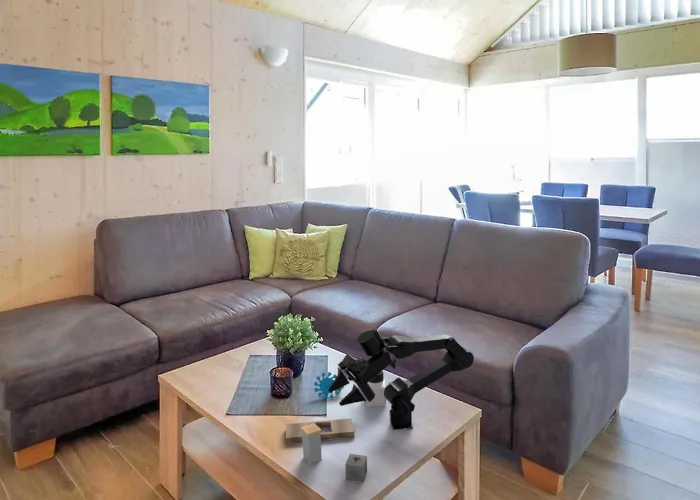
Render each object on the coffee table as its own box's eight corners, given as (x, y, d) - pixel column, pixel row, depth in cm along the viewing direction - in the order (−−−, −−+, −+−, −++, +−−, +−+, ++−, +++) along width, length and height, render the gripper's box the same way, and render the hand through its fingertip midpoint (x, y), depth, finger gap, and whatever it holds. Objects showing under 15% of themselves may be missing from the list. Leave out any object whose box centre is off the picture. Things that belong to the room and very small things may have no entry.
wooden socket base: (351, 423, 175) (351, 418, 174) (354, 437, 167) (354, 431, 166) (286, 429, 172) (286, 424, 172) (286, 443, 165) (285, 438, 164)
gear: (311, 395, 191) (316, 369, 196) (312, 400, 196) (317, 374, 201) (341, 400, 190) (345, 374, 195) (341, 405, 195) (346, 379, 200)
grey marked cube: (367, 471, 150) (366, 455, 149) (363, 482, 145) (362, 466, 144) (350, 469, 151) (349, 453, 150) (345, 480, 147) (345, 464, 145)
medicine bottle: (386, 406, 185) (385, 375, 182) (365, 407, 185) (364, 375, 182) (385, 396, 192) (384, 366, 189) (365, 397, 192) (364, 366, 189)
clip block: (315, 452, 160) (313, 422, 157) (322, 459, 156) (321, 429, 154) (302, 457, 157) (300, 427, 155) (309, 464, 154) (307, 434, 152)
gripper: (349, 336, 170) (310, 367, 167) (374, 359, 154) (332, 393, 150) (365, 361, 175) (328, 391, 171) (391, 385, 158) (350, 419, 155)
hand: (334, 397), depth 162 cm, fingers open, 9 cm apart
